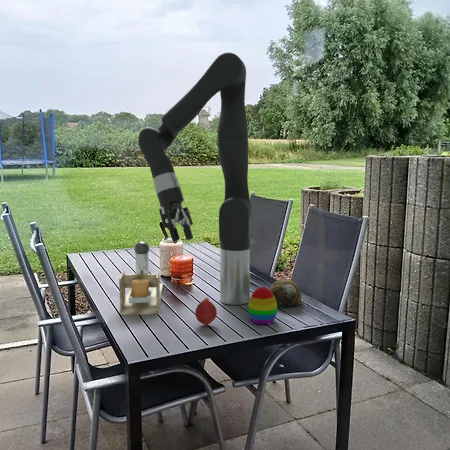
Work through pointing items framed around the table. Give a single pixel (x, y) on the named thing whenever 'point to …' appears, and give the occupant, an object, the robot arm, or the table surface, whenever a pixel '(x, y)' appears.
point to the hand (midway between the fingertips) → (183, 240)
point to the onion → (206, 312)
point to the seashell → (286, 293)
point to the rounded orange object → (140, 287)
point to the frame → (143, 307)
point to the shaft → (141, 269)
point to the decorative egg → (262, 306)
